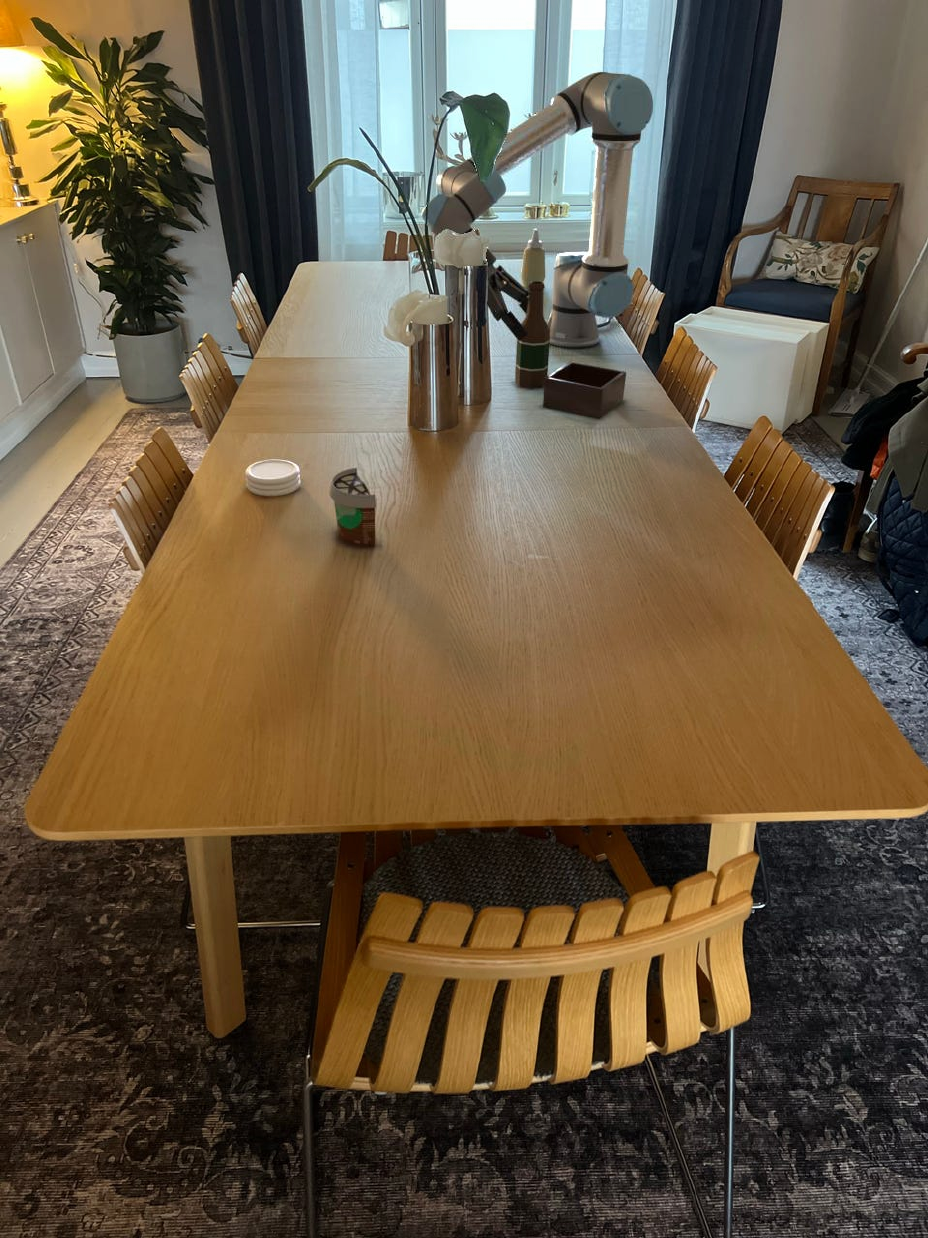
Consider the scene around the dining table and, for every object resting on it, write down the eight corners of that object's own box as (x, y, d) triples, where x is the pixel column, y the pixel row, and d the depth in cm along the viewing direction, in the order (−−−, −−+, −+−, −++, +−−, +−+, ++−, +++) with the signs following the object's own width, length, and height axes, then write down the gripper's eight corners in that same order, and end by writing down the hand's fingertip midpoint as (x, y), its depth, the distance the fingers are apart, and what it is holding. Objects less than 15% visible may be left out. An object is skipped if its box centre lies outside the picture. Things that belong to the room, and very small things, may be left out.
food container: (324, 523, 168) (320, 470, 162) (358, 518, 170) (355, 466, 164) (341, 555, 158) (338, 500, 153) (377, 550, 160) (376, 495, 155)
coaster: (309, 479, 183) (307, 462, 181) (287, 500, 175) (285, 483, 173) (261, 472, 185) (259, 455, 183) (237, 493, 177) (235, 476, 175)
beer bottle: (547, 379, 235) (554, 278, 222) (546, 390, 229) (553, 287, 216) (515, 378, 236) (520, 277, 223) (514, 388, 229) (519, 285, 216)
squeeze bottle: (549, 286, 314) (552, 228, 304) (537, 291, 308) (541, 232, 298) (527, 283, 318) (530, 225, 308) (515, 288, 312) (518, 229, 302)
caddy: (568, 390, 229) (570, 361, 225) (623, 401, 224) (626, 371, 220) (542, 407, 219) (544, 377, 215) (599, 419, 213) (602, 389, 209)
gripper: (480, 257, 233) (535, 326, 237) (444, 279, 214) (504, 354, 218) (502, 236, 229) (557, 306, 233) (466, 256, 209) (528, 333, 213)
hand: (532, 329), depth 225 cm, fingers open, 13 cm apart
